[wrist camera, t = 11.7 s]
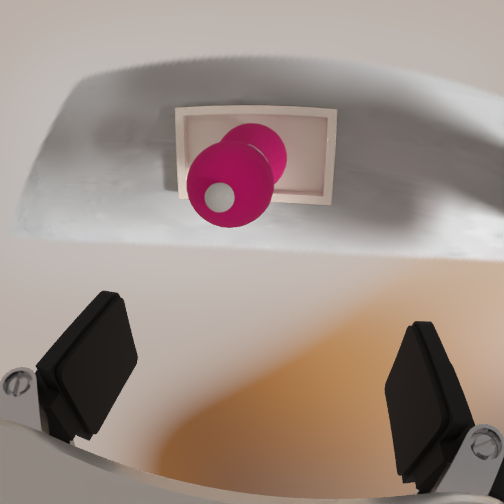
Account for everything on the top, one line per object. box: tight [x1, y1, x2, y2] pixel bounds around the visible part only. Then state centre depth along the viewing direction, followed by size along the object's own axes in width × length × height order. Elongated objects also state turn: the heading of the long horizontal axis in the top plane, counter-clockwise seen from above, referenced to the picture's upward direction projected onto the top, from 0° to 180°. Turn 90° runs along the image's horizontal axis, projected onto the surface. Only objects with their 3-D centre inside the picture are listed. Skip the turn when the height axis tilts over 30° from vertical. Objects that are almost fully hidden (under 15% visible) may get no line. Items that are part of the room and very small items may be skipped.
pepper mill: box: [186, 123, 287, 228], centre depth 27 cm, size 7×7×20 cm
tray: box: [175, 105, 337, 205], centre depth 36 cm, size 18×11×2 cm, turn 90°
